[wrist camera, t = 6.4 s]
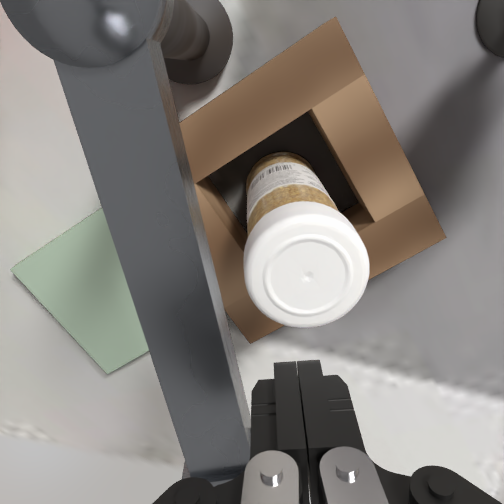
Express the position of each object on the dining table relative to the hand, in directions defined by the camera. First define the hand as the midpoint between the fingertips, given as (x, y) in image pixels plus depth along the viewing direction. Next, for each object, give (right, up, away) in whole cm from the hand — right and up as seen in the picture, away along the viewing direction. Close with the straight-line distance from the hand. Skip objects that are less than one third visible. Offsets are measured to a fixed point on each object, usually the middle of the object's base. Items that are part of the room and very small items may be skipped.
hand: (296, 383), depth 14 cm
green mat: (-11, +2, +16) cm, 20 cm away
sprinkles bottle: (0, +9, +14) cm, 16 cm away
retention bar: (-4, +4, -2) cm, 6 cm away
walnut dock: (-1, +11, +13) cm, 17 cm away
